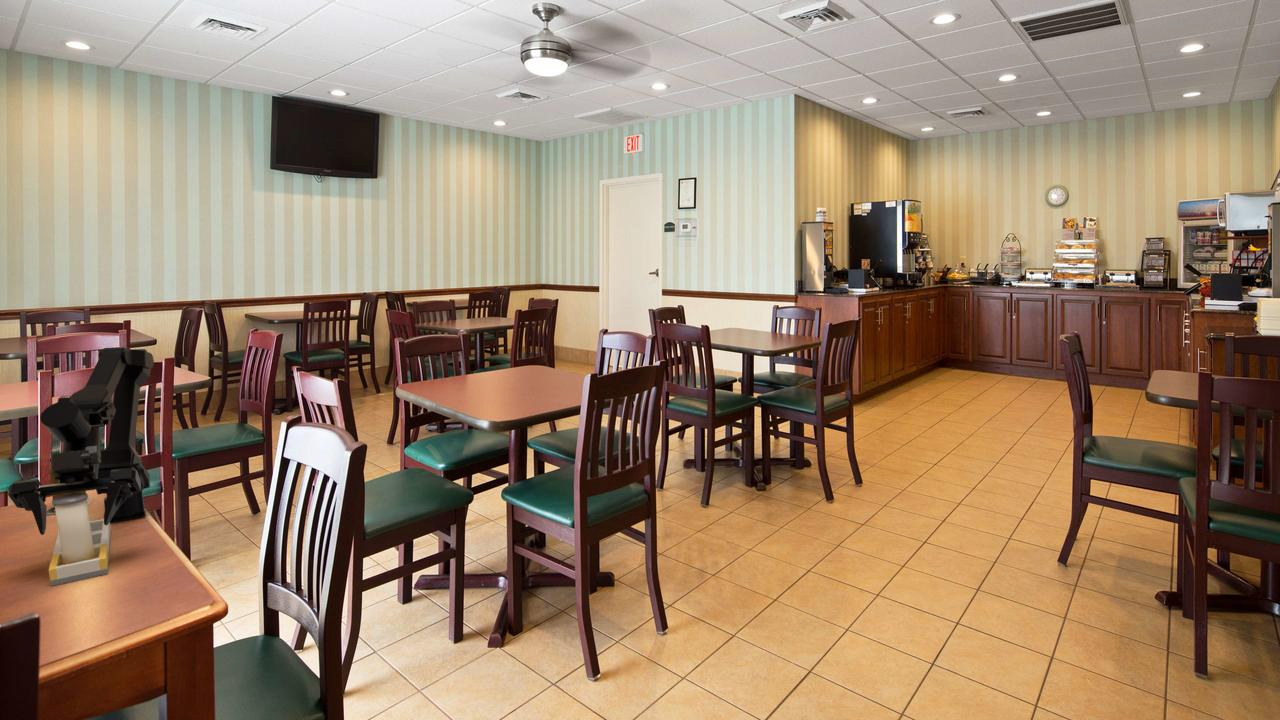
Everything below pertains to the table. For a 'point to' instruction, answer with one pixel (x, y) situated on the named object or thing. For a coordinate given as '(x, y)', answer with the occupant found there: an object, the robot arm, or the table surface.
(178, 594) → the table surface
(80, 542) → the post
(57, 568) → the socket bank
